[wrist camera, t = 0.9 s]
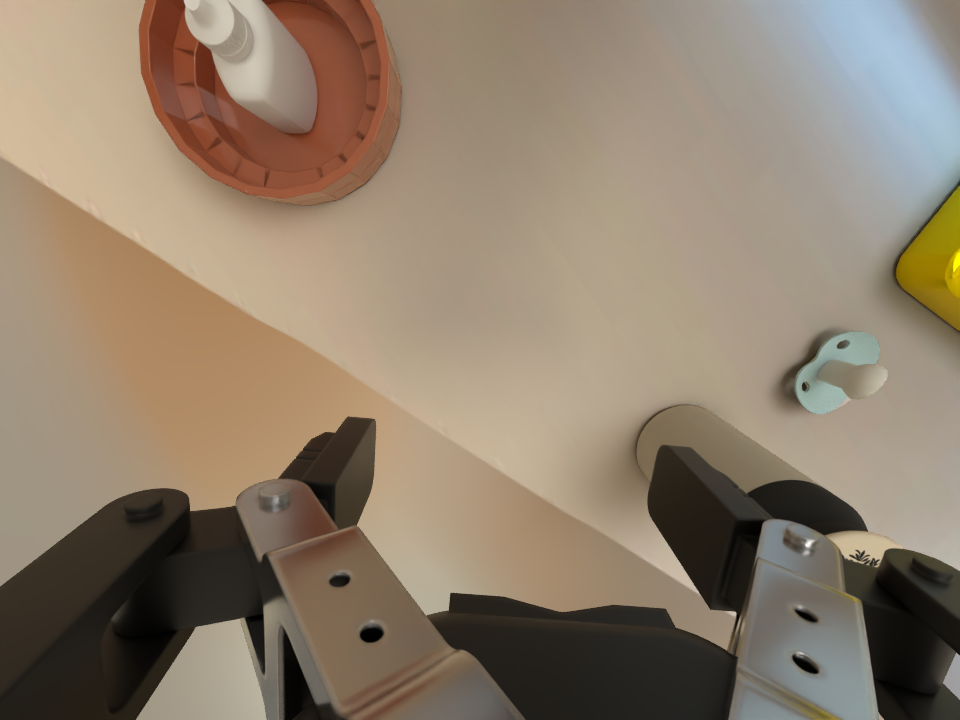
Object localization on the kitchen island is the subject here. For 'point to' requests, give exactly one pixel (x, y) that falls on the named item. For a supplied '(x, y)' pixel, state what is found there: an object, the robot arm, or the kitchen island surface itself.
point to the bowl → (252, 141)
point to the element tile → (936, 263)
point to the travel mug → (762, 479)
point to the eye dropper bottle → (257, 61)
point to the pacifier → (840, 373)
